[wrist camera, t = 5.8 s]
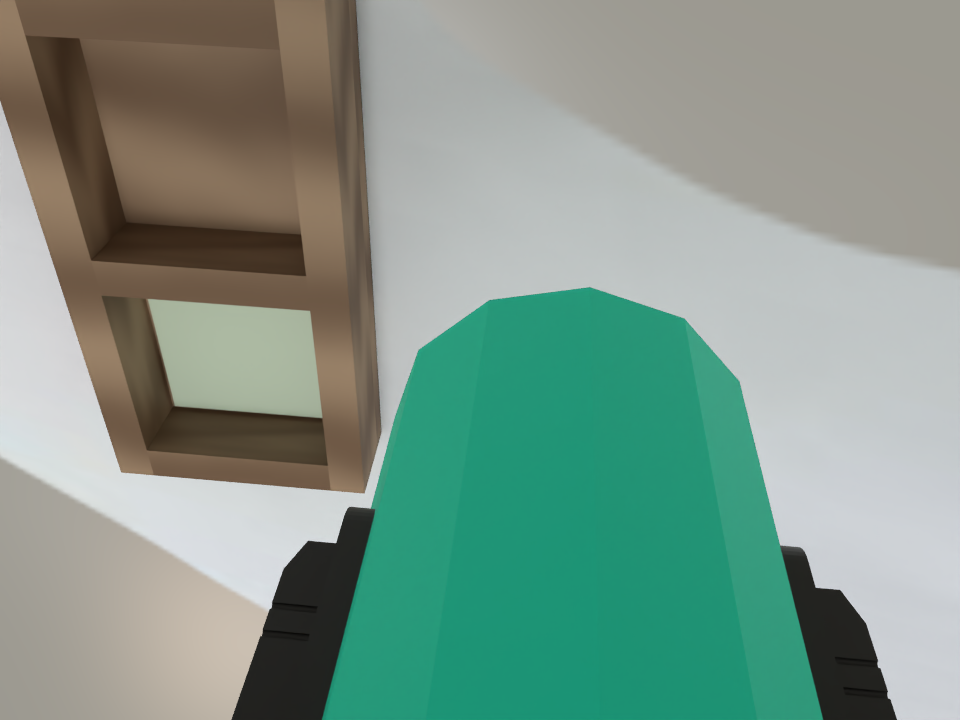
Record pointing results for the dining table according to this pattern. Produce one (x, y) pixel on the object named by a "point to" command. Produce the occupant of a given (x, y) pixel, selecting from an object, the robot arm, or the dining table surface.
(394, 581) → the candle
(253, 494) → the dining table surface
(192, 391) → the slot rack
